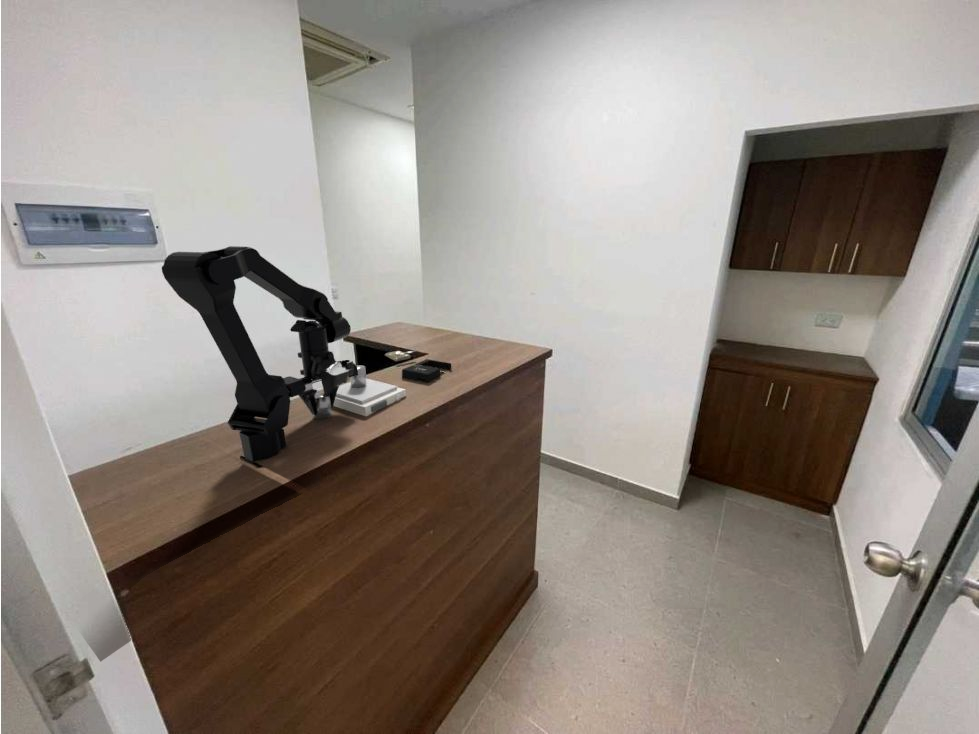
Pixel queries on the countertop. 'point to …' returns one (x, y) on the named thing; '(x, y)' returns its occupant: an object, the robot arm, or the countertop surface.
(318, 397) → the spacer
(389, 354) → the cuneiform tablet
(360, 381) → the spacer
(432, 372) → the battery charger
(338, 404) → the scale
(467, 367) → the countertop surface
